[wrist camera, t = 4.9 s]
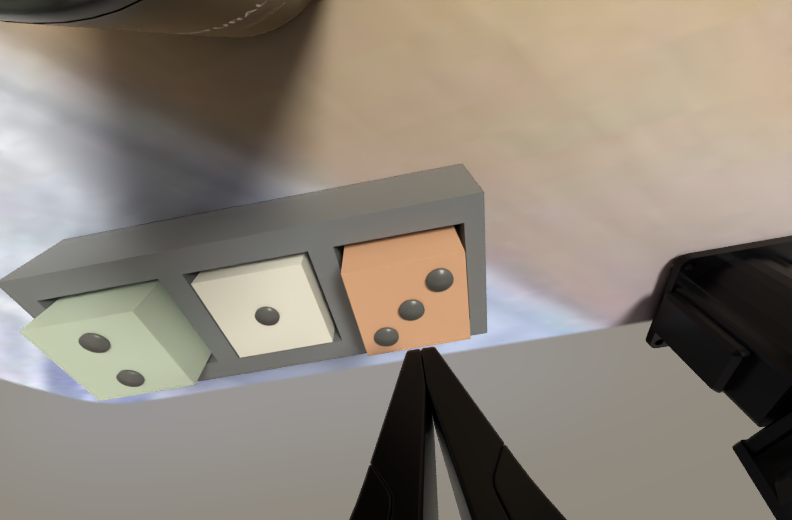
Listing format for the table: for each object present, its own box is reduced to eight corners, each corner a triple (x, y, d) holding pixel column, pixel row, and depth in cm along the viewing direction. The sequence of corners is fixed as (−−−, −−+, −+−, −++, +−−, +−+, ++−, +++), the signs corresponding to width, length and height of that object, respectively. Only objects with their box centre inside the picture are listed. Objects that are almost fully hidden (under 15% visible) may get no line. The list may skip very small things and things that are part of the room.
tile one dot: (311, 230, 13) (300, 265, 11) (338, 302, 16) (332, 343, 13) (218, 247, 14) (189, 285, 11) (257, 316, 16) (239, 359, 14)
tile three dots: (449, 216, 12) (465, 253, 10) (456, 296, 15) (471, 340, 12) (345, 235, 12) (340, 275, 10) (368, 311, 15) (367, 357, 13)
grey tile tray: (462, 163, 13) (483, 191, 11) (469, 289, 17) (487, 332, 14) (63, 239, 14) (-5, 282, 11) (154, 344, 17) (117, 394, 15)
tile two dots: (171, 267, 13) (130, 313, 11) (219, 337, 15) (193, 387, 13) (75, 285, 13) (16, 334, 11) (136, 351, 15) (97, 403, 13)
